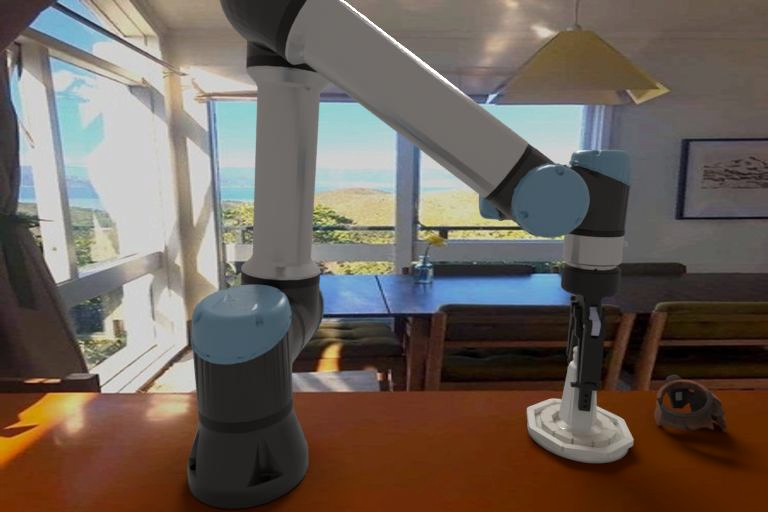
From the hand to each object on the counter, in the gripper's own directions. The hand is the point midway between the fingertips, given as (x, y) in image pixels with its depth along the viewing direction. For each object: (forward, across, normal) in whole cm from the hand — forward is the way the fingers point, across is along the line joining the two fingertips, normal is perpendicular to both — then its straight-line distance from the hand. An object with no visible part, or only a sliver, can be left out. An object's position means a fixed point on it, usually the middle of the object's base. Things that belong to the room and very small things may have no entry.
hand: (577, 417), depth 70 cm
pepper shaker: (0, 0, 0) cm, 0 cm away
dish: (+3, 0, 0) cm, 3 cm away
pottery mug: (+3, +7, -17) cm, 19 cm away
